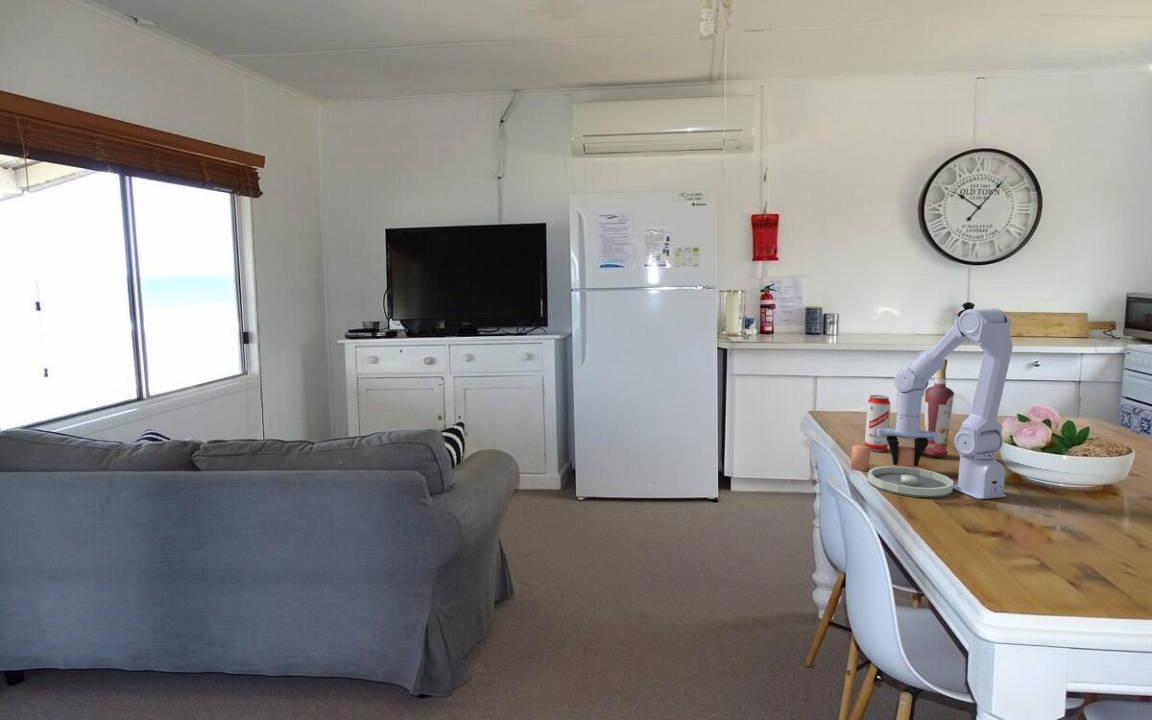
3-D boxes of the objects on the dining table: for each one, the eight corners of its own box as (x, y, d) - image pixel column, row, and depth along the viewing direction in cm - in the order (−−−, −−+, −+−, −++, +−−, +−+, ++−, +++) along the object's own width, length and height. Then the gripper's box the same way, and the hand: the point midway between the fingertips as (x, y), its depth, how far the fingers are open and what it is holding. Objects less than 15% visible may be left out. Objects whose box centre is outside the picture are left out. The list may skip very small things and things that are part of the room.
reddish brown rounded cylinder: (872, 470, 191) (874, 448, 190) (858, 471, 190) (859, 449, 189) (861, 465, 196) (862, 444, 195) (847, 467, 194) (848, 445, 193)
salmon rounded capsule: (917, 471, 191) (919, 449, 190) (903, 472, 189) (905, 450, 189) (905, 467, 195) (907, 445, 194) (891, 468, 194) (893, 446, 193)
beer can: (889, 453, 209) (893, 399, 207) (866, 451, 211) (870, 398, 209) (884, 447, 215) (888, 395, 213) (862, 446, 217) (866, 394, 215)
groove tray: (970, 494, 172) (971, 485, 171) (905, 500, 166) (905, 491, 166) (912, 472, 190) (913, 464, 190) (851, 477, 184) (852, 469, 184)
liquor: (941, 460, 202) (949, 361, 198) (915, 455, 207) (923, 358, 204) (953, 456, 206) (961, 359, 203) (927, 451, 212) (934, 357, 208)
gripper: (934, 413, 192) (930, 462, 194) (876, 410, 196) (873, 458, 197) (941, 418, 185) (937, 469, 187) (881, 415, 189) (877, 465, 191)
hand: (904, 464), depth 192 cm, fingers closed on salmon rounded capsule, 4 cm apart
